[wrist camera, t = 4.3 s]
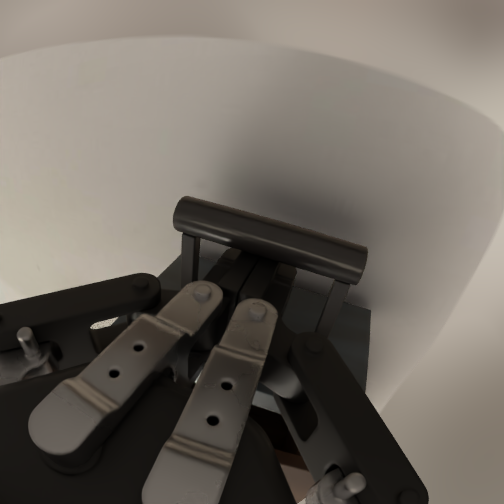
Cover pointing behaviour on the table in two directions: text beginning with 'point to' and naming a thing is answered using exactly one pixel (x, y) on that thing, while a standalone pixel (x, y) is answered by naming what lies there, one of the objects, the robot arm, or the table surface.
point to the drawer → (301, 301)
